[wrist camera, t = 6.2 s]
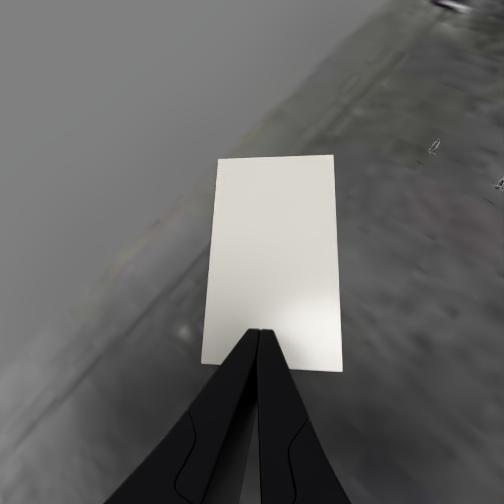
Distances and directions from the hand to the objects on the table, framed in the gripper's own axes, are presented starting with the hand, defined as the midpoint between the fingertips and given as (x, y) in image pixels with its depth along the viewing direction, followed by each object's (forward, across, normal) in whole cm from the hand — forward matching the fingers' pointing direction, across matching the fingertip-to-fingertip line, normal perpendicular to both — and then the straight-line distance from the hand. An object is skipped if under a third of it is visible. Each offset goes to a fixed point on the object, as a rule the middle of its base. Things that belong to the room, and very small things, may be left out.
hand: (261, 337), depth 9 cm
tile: (+3, 0, +6) cm, 7 cm away
